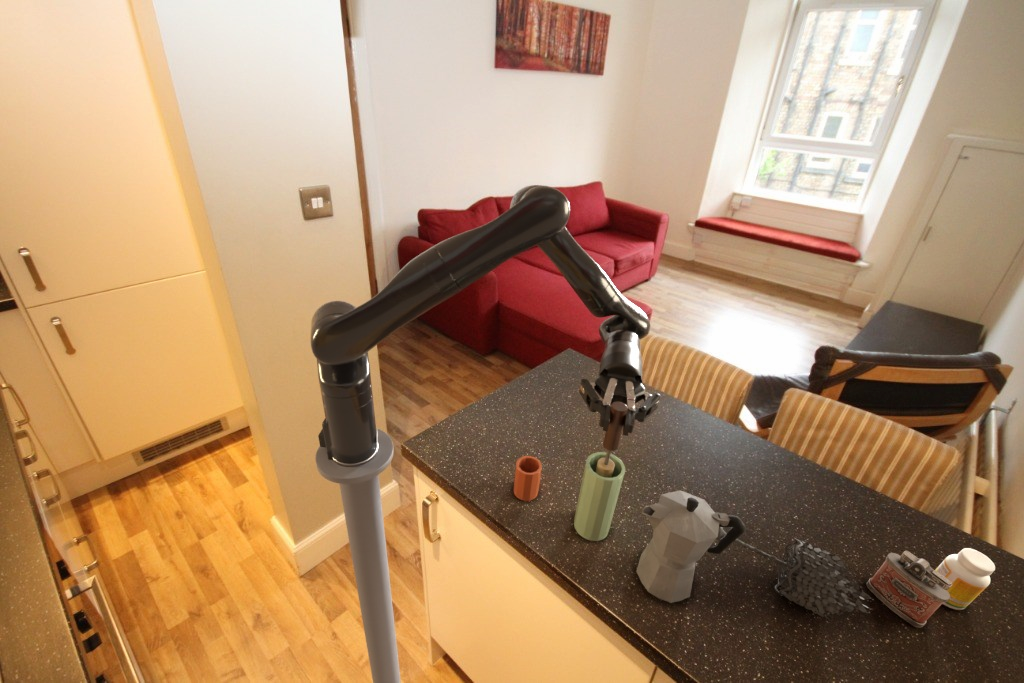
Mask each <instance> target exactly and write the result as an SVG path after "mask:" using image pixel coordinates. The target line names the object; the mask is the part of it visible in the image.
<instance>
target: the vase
mask: <svg viewBox="0 0 1024 683" xmlns="http://www.w3.org/2000/svg"><path fill="white" fill-rule="evenodd" d="M606 453H607V451H606V452H605V451H597V452H592V453H591V454H590V455H588V456H587V458H586V460H585V465H584V469H583V474H582V478H581V484H580V490H579V492H578V493H579V494H578V497H577V503H576V507H575V513H574V518H573V526H574V529H575V531H576V532H577V534H578V535H579V536H580V537H582V538H583V539H585V540H588V541H590V542H597V541H598V542H599V541H602V540H604V539H605V538H607V537H608V535H609V533H610V530H611V529H610V528H611V525H612V521H613V518H614V514H615V510H616V507H617V504H618V499H619V496H620V491H621V488H622V485H623V481H624V477H625V474H626V467H625V464H624V462H623V461H622V459H620V458H619V457H617V456H616V455H615V454H612V453H611V455H610V460H612V461H613V462H614V465H615V467H614V471H613V475H612V478H605V477H602V476H600V475H598V474H596V473H595V472H596V467H597V463H598V460H599V459H601V458H605V457H606Z"/></svg>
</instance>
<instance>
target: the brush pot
mask: <svg viewBox="0 0 1024 683" xmlns="http://www.w3.org/2000/svg"><path fill="white" fill-rule="evenodd" d="M542 466H543V465H542V462H541V461H540V460H539V459H538V458H537V457H535V456H533V455H524V456H520V457H519V458H518V459H517V461H516V462H515V471H514V480H513V494H514V496H515V497H516V498H517V499H519V500H521V501H523V502H529V501H532V500H534V499H536V498H537V496H538V494H539V491H540V490H539V489H540V483H541V476H542V469H543V468H542Z"/></svg>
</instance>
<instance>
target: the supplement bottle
mask: <svg viewBox="0 0 1024 683" xmlns="http://www.w3.org/2000/svg"><path fill="white" fill-rule="evenodd" d="M935 570H936V571H937V572H938V573H940V574H941V575H943V576H944V577H945V578H947V579H948V580H949V581H951V583H952V586H951V587H950V588H949V589H948V590H947V591H948V593H949V594H950V598H949V600H948V601H947V602H945V603H942V604H941V605H943V606H945V607H948V608H949V609H953V610H956V611H961V610H965V609H967V607H968V606H969V605H970V604H971V603H973V601H974V600H975V599H976V598H977V597H978V596H979V595H980V594H981V593H982V592H984V591H985V589H987V588H988V587H989V585H990V584H991V577H990V576H991V575H992V574H993V573H994V572H995V571H996V565H995V563H994V562H993V561H992V560H991V558H989V557H988V556H987V555H986V554H984V553H982V552H980V551H978V550H976V549H974V548H970V547H964V548H962V549H961V550H960V551H959V552H958V553H953V554H952V553H951V554H949V555H948V556H946V557H945V558H944V559H943V561H942V562H940V564H939V565H938V566H937V567H936V568H935Z"/></svg>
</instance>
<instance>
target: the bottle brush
mask: <svg viewBox="0 0 1024 683" xmlns="http://www.w3.org/2000/svg"><path fill="white" fill-rule="evenodd" d="M626 412H627V405H626V404H624V403H622V402H613V403H612V405H611V413H610V422H609V427H608V431H604V432H605V433H604V437H603V442H602V446H603V448H604V449H606V457H605V458H601V459H599V460H598V463H597V467H596V472H595V473H596V474H598V475H600V476H602V477H605V478H612V475H613V471H614V467H615V465H614V462H613V461H612V460H610V455H611V454H612V452H614V451H617V450H618V449H619V445H620V441H621V437H622V434H623V424H624V420H625V416H626Z"/></svg>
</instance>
